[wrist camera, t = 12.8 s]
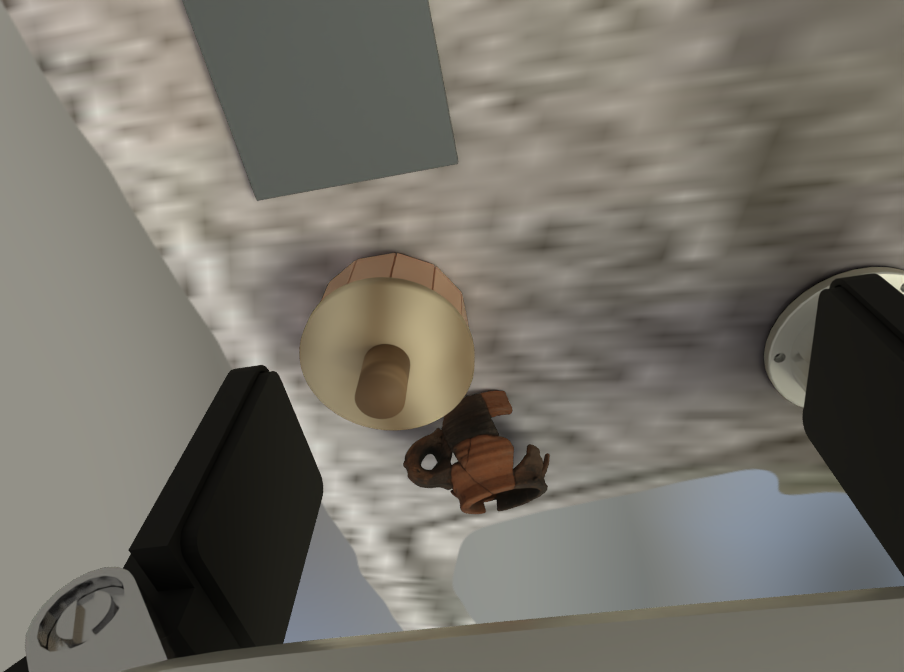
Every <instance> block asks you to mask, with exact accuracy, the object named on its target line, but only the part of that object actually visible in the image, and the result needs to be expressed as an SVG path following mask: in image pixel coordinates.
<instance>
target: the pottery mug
mask: <svg viewBox="0 0 904 672" xmlns="http://www.w3.org/2000/svg"><path fill="white" fill-rule="evenodd" d="M511 413H512V406H511V404H510V403H509V401H508V398H507V396H506V393H505V392H504V391H488V392H483V393H478V394H474V395H471V396H466V397H464V398H463V399H462V400H461V402H460V403H459V404H458V405H457V406H456V407H455V408H454V409H453V410H452V411H450V412H449V413H448V414H446V415H445V416H444V420H443V426H442V430H440V429H439V428H437V429H436V430H435V431H434V432H433V433H432V434H430V435H427V436H425V437H423V438H421V439H419V440H418V441H416V442H415V443H414V444H413V445H412V446H411V447H410V448H409V450H408V451H407V453H406V455H405V461H404V463H403V466H404V467H405V468H406V469H407V472H408V478H409V479H410V480H411V481H412V482H413V483H414V484H416V485H418V486H420V487H424V488H436V487H441V488H444V489H447V490H450V489H453V490H451V493H452V494H453V495H454V496H455V497H457V498H458V499H459V501H460V509H461V511H463V512H464V513H468V514H482V513H485V512H486V510H485V506H484V502H489V501H492V500H497V510H498V511H503V510H508V509H511V508H514V507H517V506H520V505H523V504H525V503H528V502H530V501H532V500H533V499H536V498H538V497H540V496H541V495H542V494H544V493H545V492H546V491H547V487H548V486H547V485H546V483H545V480H544V477H545V474H546V472H547V468H548V465H549V457H550V455H549V454H548V453H547V454H545V457H544V461H543V460H542V458H541V456H540V450H539V448H537V447H536V446H534V445H532V444H529V445H528V446H527V451H526V455H525V456H524V458H523V460H522V461H521V462H520V463H519V464H518V465H517V466H516V467H515V468H514V469H513V453H514V447H513V445H512V444H511V442H510V441H509V440H508V439H507V438H504V437H500V436H499V433H498V431H497V429H496V427H495V426H494V423H493V421H492V419H491V418H492V417H495V416H500V415H507V414H511ZM452 452H453V453H454V455H455V457H456V458H457V460H458V462H456V463H454V464H453V465H451V462H450V461H451V458H452ZM427 454H433V455H434V456H435V458H436V460H437V464H436V465H435V467H434V468H433V469H432V470H425V469H424V468H422V466H421V462H422V461H423V459H424V458H425V456H426V455H427Z"/></svg>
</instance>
